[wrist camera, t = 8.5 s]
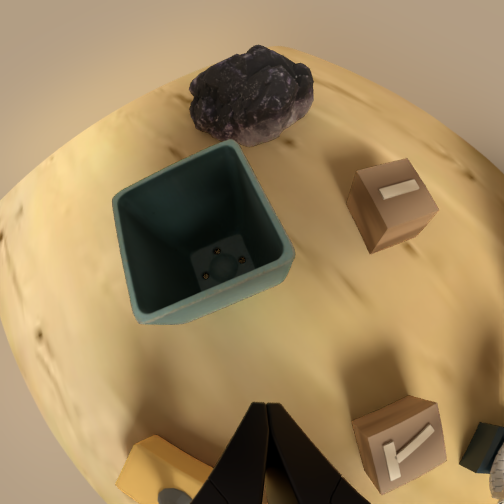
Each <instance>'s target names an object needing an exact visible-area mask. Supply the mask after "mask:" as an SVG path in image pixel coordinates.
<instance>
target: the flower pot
mask: <svg viewBox="0 0 504 504" xmlns="http://www.w3.org/2000/svg"><path fill="white" fill-rule="evenodd" d="M112 207H113V213H114V220H115V226H116V231H117V237H118V242H119V248H120V254H121V258H122V263H123V268H124V273H125V278H126V283H127V287H128V292H129V296H130V302H131V306H132V311H133V314H134V316H135V318H136V320H137V322H138V323H139V324H158V325H175V324H184V323H187V322H191V321H193V320H196V319H198V318H201V317H203V316H205V315H208V314H210V313H213V312H215V311H217V310H220V309H222V308H224V307H227V306H229V305H232V304H234V303H236V302H239V301H241V300H243V299H246V298H248V297H250V296H253V295H255V294H257V293H260V292H262V291H264V290H267V289H269V288H272V287H274V286H276V285H278V284H280V283H281V282H283V281H284V279H285V278H286V276H287V274H288V272H289V270H290V267H291V265H292V262H293V260H294V258H295V250H294V247H293V245H292V243H291V241H290V239H289V237H288V235H287V233H286V231H285V230H284V228H283V226H282V224H281V222H280V220H279V219H278V217H277V215H276V213H275V211H274V209H273V207H272V206H271V204H270V202H269V200H268V198H267V196H266V195H265V193H264V191H263V189H262V187H261V185H260V183H259V182H258V180H257V177H256V176H255V174H254V172H253V170H252V168H251V166H250V164H249V163H248V161H247V159H246V157H245V155H244V153H243V151H242V150H241V147H240V146H239V144H238V143H237V142H236V141H235V140H233V139H229V140H226V141H223V142H220V143H218V144H216V145H213V146H210V147H208V148H206V149H204V150H201V151H200V152H197V153H196V154H193V155H191V156H189V157H187V158H185V159H182V160H180V161H178V162H176V163H174V164H172V165H170V166H168V167H166V168H164V169H162V170H160V171H158V172H156V173H154V174H152V175H150V176H148V177H146V178H144V179H142V180H140V181H139V182H136V183H135V184H133V185H130V186H129V187H127V188H124V189H123V190H121V191H120V192H119V193H117V194H116V195H115V196H114V197H113V199H112ZM215 249H220V253H219V254H215V253H214V251H215ZM241 257H244V258H245V262H244V263H240V262H239V259H240V258H241ZM205 273H208V274H209V277H208V278H207V279H204V278H203V275H204V274H205Z"/></svg>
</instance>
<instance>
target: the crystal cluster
mask: <svg viewBox="0 0 504 504" xmlns="http://www.w3.org/2000/svg"><path fill="white" fill-rule="evenodd" d="M313 82H314V81H313V77H312V74H311V71H310V69H309V68H308V67H307V66H306V65H304V64H302V63H296V64H295V63H294V62H292V61H291V60H289V59H288V58H286V57H284V56H283V55H280V54H278V53H276V52H275V51H273V50H270V49H268V48H266V47H264V46H261V45H255V46H253V47H252V48H251V49H249V50H248V51H247V53H246V54H245V53H244V54H241V55H238V54H236V55H234V56H232V57H230V58H228V59H225V60H223V61H221V62H219V63H217V64H215V65H213V66H211V67H209V68H208V69H207V70H206V71H204V72H202V73H200V74H199V75H198V76H197V77H196V78H195V79H193V81H192V82H191V84H190V87H189V91H190V92H191V94H192V95H193V96H194V99H193V101H192V102H191V106H190V109H189V110H190V115H191V118H192V119H193V121H194V124H195V127H196V128H197V129H198V130H200V131H204V132H207V133H209V134H211V136H212V137H214V138H216V139H218V140H221V141H226V140H229V139H233V140H235V141H236V142H238V143H239V144H241V145H244V146H248V147H250V146H255V145H258V144H260V143H264V142H268V141H270V140H273V139H275V138H277V137H279V135H280V133H281V132H282V131H283V130H284V129H286V128H288V127H289V126H291V125H292V124H293V123H294V122H296V121H297V120H299V119H301V118H302V117H304V115H305V114H306V113H307V112H308V110H309V109H310V107H311V105H312V102H313V100H314V99H313Z"/></svg>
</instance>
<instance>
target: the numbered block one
mask: <svg viewBox="0 0 504 504" xmlns="http://www.w3.org/2000/svg"><path fill="white" fill-rule="evenodd" d="M346 205H347V207H348V209H349V211H350V213H351V215H352V217H353V219H354V221H355V223H356V225H357V227H358V229H359V231H360V234H361V236H362V238H363V240H364V242H365V245H366V247H367V249H368V251H369V253H370V254H372V253H375V252H378V251H381V250H383V249H386V248H388V247H391V246H394V245H396V244H399V243H402V242H404V241H407V240H409V239H412V238H414V237H416V236H417V235H418V234H419V233H420V232H421V231H422V230H423V228H424V227H425V226H426V225H427V224H428V223H429V222H430V220H431V219H432V218H433V217H434V216H435V215H436V213H437V212H438V211H439V209H438V207H437V205H436V203H435V201H434V200H433V198H432V196H431V195H430V193H429V191H428V190H427V188H426V186H425V185H424V183H423V181H422V180H421V178H420V177H419V175H418V173H417V172H416V170H415V169H414V167H413V166H412V164H411V163H410V161H409V160H408V158H406V159H402V160H397V161H393V162H389V163H385V164H381V165H377V166H373V167H369V168H365V169H361V170H357V171H356V173H355V177H354V180H353V184H352V187H351V190H350V194H349V197H348V200H347V203H346Z"/></svg>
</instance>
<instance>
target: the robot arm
mask: <svg viewBox="0 0 504 504" xmlns="http://www.w3.org/2000/svg"><path fill="white" fill-rule="evenodd" d="M264 481H265V487H266V494H267V500H268V504H371V503H370V502H369V501H367V500H366V499H365V498H364V497H363V496H361V495H360V494H359V493H358V492H357V491H356V490H355V489H354V488H353V487H352V486H351V485H350V484H349V483H348V482H347V481H346V479H345V478H344V477H341V474H340V473H339V472H338V471H337V470H336V469H335V468H334V466H333V465H332V464H331V463H330V462H329V461H328V460H327V459H326V457H325V456H324V455H323V454H322V453H321V452H320V451H319V449H318V448H317V447H316V446H315V445H314V444H313V442H312V441H311V440H310V439H309V438H308V437H307V435H306V434H305V433H304V432H303V431H302V429H301V428H300V427H299V426H298V425H297V423H296V422H295V421H294V420H293V418H292V417H291V416H290V415H289V413H288V412H287V411H286V410H285V408H284V407H283V406H282V405H281V404H280V403H267V404H265V403H264V402H252V403H251V405H250V406H249V408H248V410H247V412H246V414H245V416H244V417H243V419H242V421H241V423H240V424H239V426H238V428H237V430H236V432H235V433H234V435H233V437H232V438H231V440H230V442H229V444H228V445H227V447H226V449H225V450H224V452H223V454H222V455H221V457H220V459H219V460H218V462H217V464H216V465H215V467H214V468H213V470H212V472H211V473H210V475H209V476H208V480H206V481H205V482H204V484H203V485H202V487H201V488H200V490H199V491H198V493H197V494H196V495H195V497H194V498H193V500H192V501H191V502H190V503H189V504H262V498H263V490H264Z"/></svg>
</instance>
